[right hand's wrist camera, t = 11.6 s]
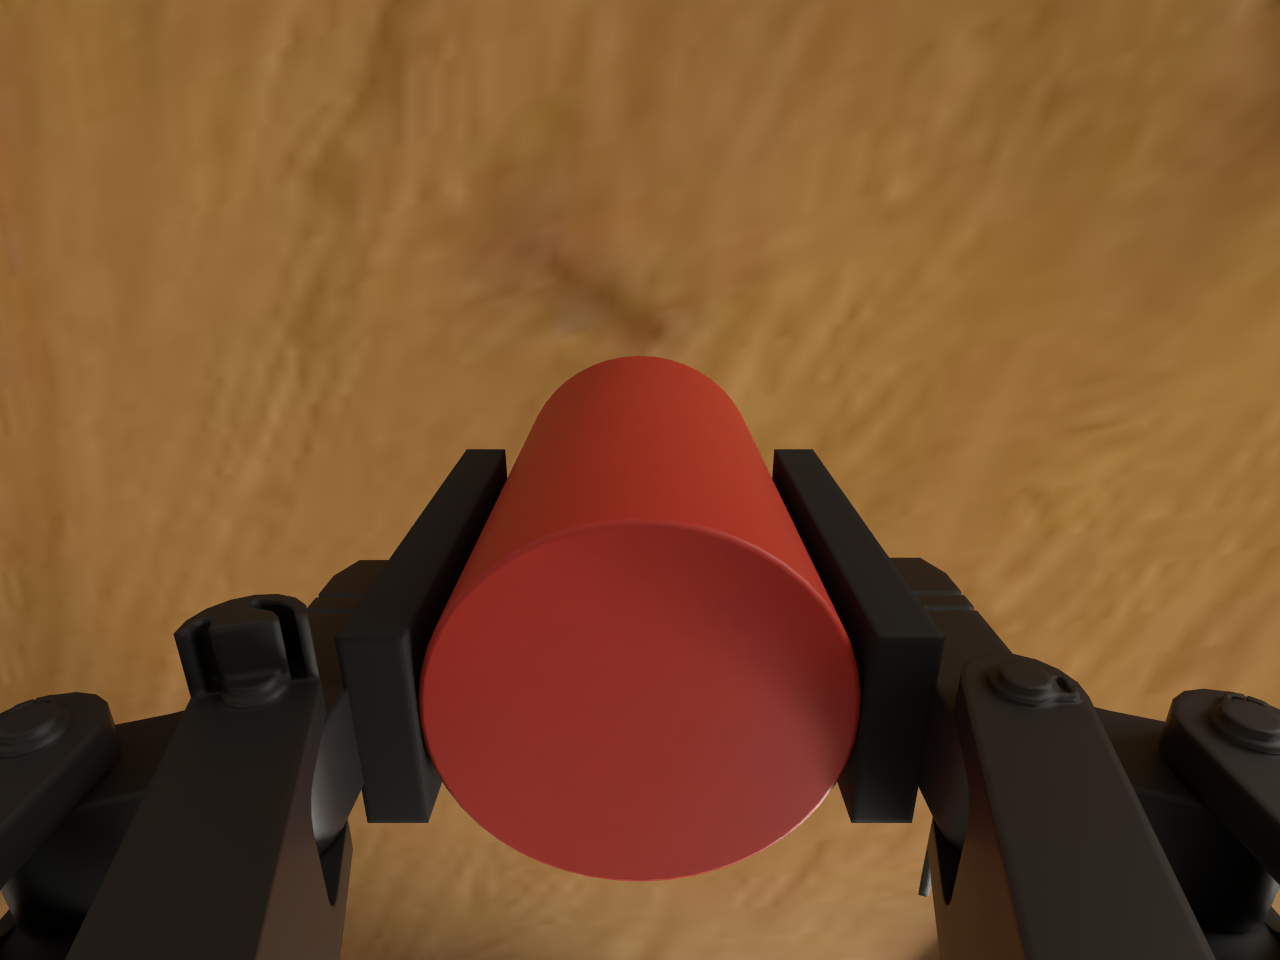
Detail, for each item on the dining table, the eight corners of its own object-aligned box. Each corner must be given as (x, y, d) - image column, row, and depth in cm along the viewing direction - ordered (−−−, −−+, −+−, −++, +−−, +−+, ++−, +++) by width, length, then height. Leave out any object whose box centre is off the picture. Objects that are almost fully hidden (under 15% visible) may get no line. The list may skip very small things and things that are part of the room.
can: (771, 370, 16) (913, 547, 8) (732, 578, 18) (812, 899, 10) (534, 341, 16) (418, 494, 7) (520, 556, 18) (414, 866, 9)
